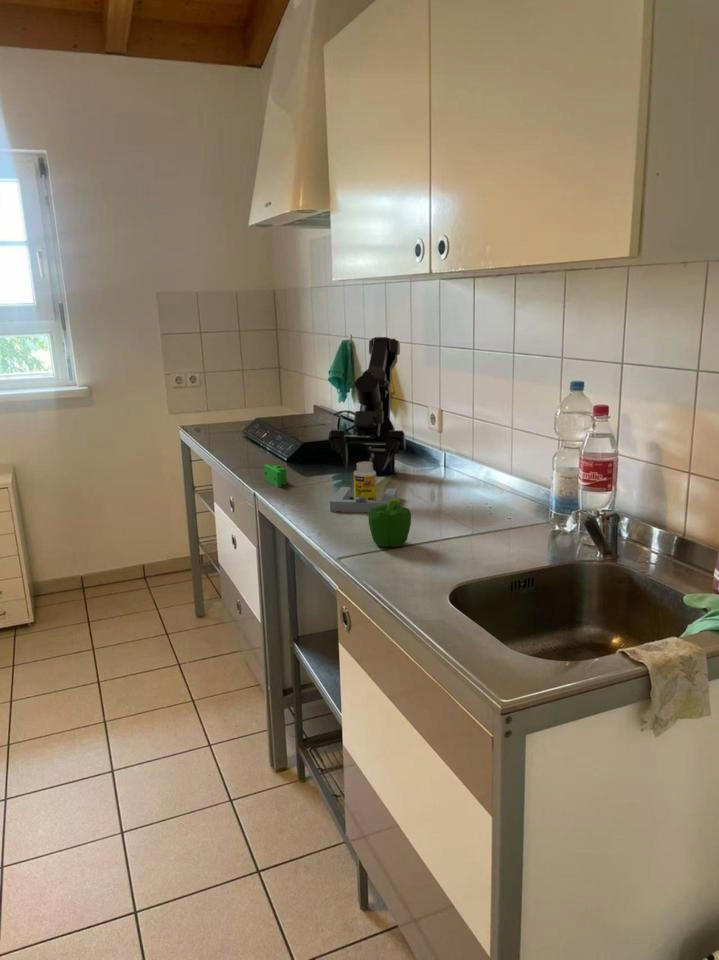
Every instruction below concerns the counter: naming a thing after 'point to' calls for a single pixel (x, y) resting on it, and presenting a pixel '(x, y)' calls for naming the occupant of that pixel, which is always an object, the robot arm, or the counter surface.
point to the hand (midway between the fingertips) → (363, 469)
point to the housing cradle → (358, 501)
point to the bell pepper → (389, 524)
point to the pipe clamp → (275, 474)
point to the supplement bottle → (365, 481)
